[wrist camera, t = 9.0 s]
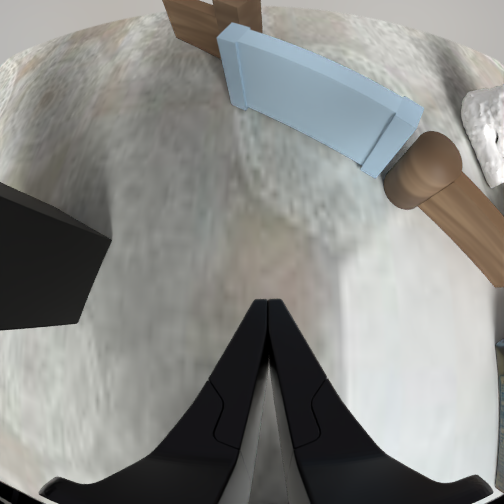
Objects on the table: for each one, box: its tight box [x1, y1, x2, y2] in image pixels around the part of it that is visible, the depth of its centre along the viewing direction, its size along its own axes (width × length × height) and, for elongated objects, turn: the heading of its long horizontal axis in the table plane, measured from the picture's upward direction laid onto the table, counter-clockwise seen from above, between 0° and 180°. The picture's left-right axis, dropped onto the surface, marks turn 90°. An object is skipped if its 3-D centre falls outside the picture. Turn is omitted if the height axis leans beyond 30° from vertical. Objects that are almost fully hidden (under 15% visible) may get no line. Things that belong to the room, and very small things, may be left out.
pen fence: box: [162, 0, 504, 288], centre depth 20 cm, size 14×40×9 cm, turn 49°
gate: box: [217, 22, 424, 179], centre depth 20 cm, size 13×2×8 cm, turn 59°
